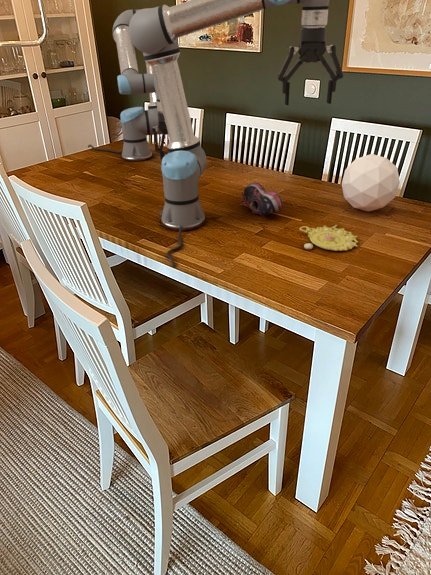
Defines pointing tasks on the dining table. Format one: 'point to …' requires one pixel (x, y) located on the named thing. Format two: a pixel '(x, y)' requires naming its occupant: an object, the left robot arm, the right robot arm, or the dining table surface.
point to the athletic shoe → (261, 200)
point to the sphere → (370, 182)
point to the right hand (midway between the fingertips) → (307, 103)
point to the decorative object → (330, 238)
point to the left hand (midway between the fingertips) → (170, 166)
